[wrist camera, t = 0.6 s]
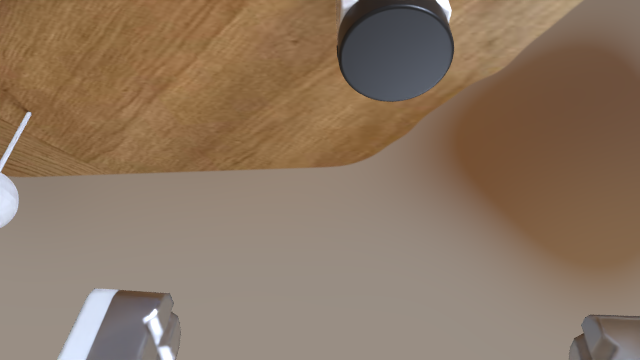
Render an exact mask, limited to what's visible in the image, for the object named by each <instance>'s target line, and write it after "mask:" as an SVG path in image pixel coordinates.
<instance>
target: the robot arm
mask: <svg viewBox="0 0 640 360" xmlns="http://www.w3.org/2000/svg"><path fill="white" fill-rule="evenodd" d="M173 304H174V303H173V300H172V297H171V295H170V293H156V292H141V291H126V290H125V291H124V290H113V289H94V290H93V291H92V292H91V293H90V294H89V295H88V296H87V298H86V300H85V302H84V304H83V306H82V308H81V311H80V313H79V315H78V317H77V319H76V321H75V323H74V326H73V327H72V330H71V331H70V333H69V336H68V338H67V340H66V342H65V344H64V346H63V348H62V350H61V352H60V354H59V356H58V358H57V360H176V357H177V354H178V350H179V345H180V335H181V330H180V322H179V318H178V316H177V315H175V314H174V313H173V312H171V310H172V307H173ZM581 326H582V329H583V332H584V333H583V334H581V335H579V336H578V337H576V338H574V340H573V342H572V345H571V347H570V352H569V360H640V316H616V315H615V316H614V315H589V316H587V317H585V319H584V321H583V323H582V325H581Z"/></svg>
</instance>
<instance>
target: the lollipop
mask: <svg viewBox="0 0 640 360" xmlns="http://www.w3.org/2000/svg"><path fill="white" fill-rule="evenodd" d="M30 116H31V113H30V112H27V113H26V115H25V117H24V119H23V120H22V122H21V124H20V126H19V128H18V130H17V131H16V133H15V135H14V137H13V139H12V140H11V142H10V144H9V146H8V148H7V150H6V151H5V153H4V155H3V157H2V159H1V161H0V172H1V170H2V168H3V166H4V164H5V163H6V161H7V159H8V157H9V155H10V153H11V151H12V150H13V148H14V146H15V144H16V142H17V140H18V138H19V137H20V135H21V133H22V131H23V129H24V127H25V125H26V124H27V122H28V120H29V118H30ZM18 203H19V196H18V192H17V189H16V187H15V185H14V184H13V182H12V181H11V180H10V179H9V178H8V177H7V176H5V175H4V174H2V173H0V228H1V227H3V226H5V225H6V224H7V223H8V222H9V221H10V220H11V219H12V218H13V217H14V215H15V214H16V212H17V209H18Z"/></svg>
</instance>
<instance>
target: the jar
mask: <svg viewBox="0 0 640 360" xmlns="http://www.w3.org/2000/svg"><path fill="white" fill-rule="evenodd" d="M450 15H451V8H450V4H449V1H448V0H336V25H337V57H338V61H339V66H340V70H341V72H342V75H343V77H344V78H345V80H346V81H347V83H348V84H349V85H350V86H351V87H352V88H353V89H354V90H356V91H357V92H358V93H360V94H362V95H364V96H366V97H368V98H371V99H375V100H379V101H389V102H393V101H403V100H407V99H411V98H414V97H417V96H419V95H421V94H423V93H425V92H427V91H428V90H430V89H431V88H432V87H434V86H435V85H436V84H437V83H438V82H439V81H440V80H441V79H442V78H443V77H444V75H445V74H446V72H447V71H448V69H449V67H450V65H451V62H452V59H453V54H454V41H453V37H452V33H451V30H450V26H449V19H450Z"/></svg>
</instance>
